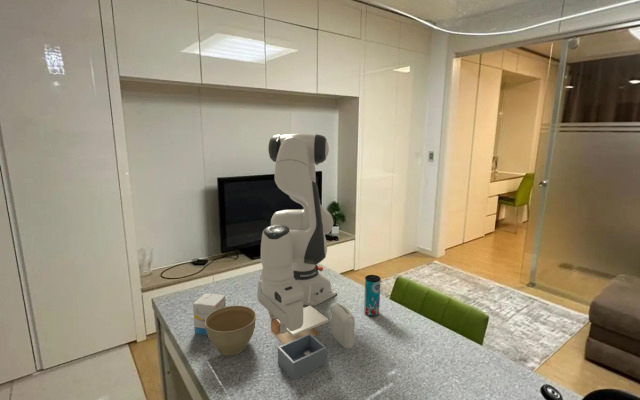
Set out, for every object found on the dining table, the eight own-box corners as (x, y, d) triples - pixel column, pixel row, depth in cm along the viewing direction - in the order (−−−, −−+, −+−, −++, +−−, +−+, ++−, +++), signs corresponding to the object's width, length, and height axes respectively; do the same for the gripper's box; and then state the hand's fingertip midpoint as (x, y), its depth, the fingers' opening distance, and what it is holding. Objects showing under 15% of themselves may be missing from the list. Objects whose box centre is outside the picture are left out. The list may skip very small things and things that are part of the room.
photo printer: (330, 334, 118) (330, 302, 116) (340, 331, 120) (341, 299, 118) (344, 351, 109) (345, 316, 107) (355, 347, 111) (356, 313, 109)
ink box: (216, 336, 117) (214, 306, 114) (194, 333, 118) (191, 303, 116) (227, 323, 125) (225, 294, 123) (206, 320, 127) (204, 292, 124)
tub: (309, 349, 110) (309, 333, 109) (326, 365, 103) (326, 347, 102) (277, 364, 103) (277, 347, 102) (293, 381, 96) (293, 363, 94)
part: (308, 352, 107) (308, 347, 107) (313, 357, 105) (313, 351, 105) (301, 356, 106) (301, 350, 105) (306, 360, 104) (306, 355, 103)
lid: (310, 310, 108) (310, 299, 107) (328, 324, 100) (328, 312, 100) (265, 327, 99) (265, 315, 98) (282, 344, 91) (281, 331, 90)
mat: (302, 319, 127) (302, 318, 127) (321, 334, 118) (321, 333, 118) (269, 332, 119) (269, 331, 119) (287, 349, 110) (287, 348, 110)
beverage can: (370, 318, 129) (372, 282, 126) (360, 311, 134) (362, 276, 131) (382, 314, 132) (383, 278, 129) (372, 307, 137) (373, 273, 134)
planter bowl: (264, 336, 117) (263, 307, 115) (244, 366, 102) (243, 334, 100) (221, 330, 120) (220, 302, 118) (196, 359, 105) (194, 328, 103)
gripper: (251, 273, 99) (252, 315, 102) (286, 302, 83) (287, 351, 86) (270, 268, 102) (271, 308, 106) (307, 295, 86) (307, 342, 89)
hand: (278, 328), depth 96 cm, fingers closed on lid, 3 cm apart
